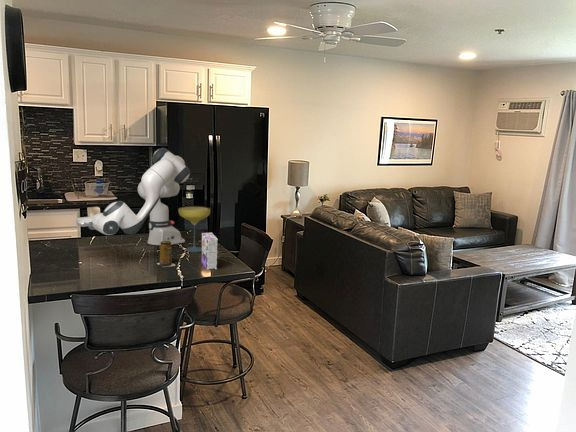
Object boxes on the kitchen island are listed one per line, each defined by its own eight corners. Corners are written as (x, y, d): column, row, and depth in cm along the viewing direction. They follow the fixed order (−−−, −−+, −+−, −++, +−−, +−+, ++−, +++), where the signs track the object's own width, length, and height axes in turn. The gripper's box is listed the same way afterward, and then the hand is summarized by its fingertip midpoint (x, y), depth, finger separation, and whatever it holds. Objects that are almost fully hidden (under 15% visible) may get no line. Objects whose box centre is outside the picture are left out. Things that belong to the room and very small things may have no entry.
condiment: (169, 261, 242) (169, 239, 240) (176, 265, 236) (176, 243, 234) (156, 263, 238) (155, 241, 235) (163, 267, 231) (162, 244, 229)
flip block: (99, 208, 237) (101, 228, 239) (97, 206, 241) (98, 227, 243) (89, 208, 234) (91, 229, 236) (87, 207, 238) (88, 228, 240)
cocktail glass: (212, 252, 263) (213, 210, 259) (181, 254, 256) (181, 210, 252) (206, 245, 280) (206, 205, 275) (176, 246, 273) (176, 205, 268)
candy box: (201, 262, 243) (201, 232, 240) (212, 261, 245) (212, 232, 242) (206, 270, 230) (206, 238, 227) (217, 269, 232) (218, 238, 229)
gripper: (79, 230, 222) (73, 225, 233) (122, 226, 234) (113, 221, 245) (78, 218, 221) (72, 213, 232) (121, 214, 233) (113, 210, 244)
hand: (93, 217), depth 239 cm, fingers closed on flip block, 5 cm apart
